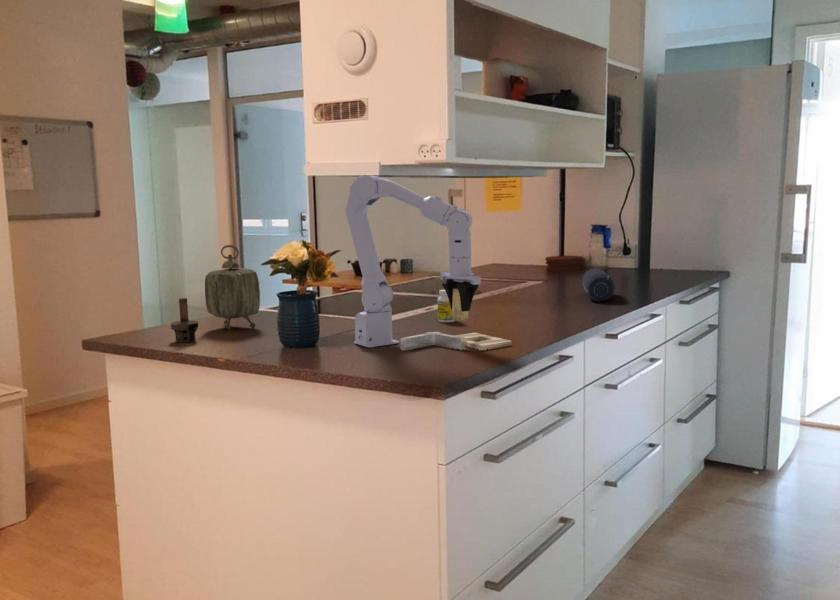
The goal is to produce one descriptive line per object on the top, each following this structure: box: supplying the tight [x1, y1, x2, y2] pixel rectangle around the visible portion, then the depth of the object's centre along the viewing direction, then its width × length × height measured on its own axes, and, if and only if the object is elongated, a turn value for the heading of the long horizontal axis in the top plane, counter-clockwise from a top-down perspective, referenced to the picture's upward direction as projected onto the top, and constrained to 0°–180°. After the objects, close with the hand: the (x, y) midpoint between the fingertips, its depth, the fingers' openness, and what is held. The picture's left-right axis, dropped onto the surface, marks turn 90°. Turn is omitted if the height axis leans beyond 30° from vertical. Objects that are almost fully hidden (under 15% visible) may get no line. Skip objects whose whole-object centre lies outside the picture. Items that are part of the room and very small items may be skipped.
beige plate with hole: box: [455, 332, 513, 351], centre depth 203 cm, size 15×10×1 cm, turn 34°
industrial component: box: [170, 297, 199, 343], centre depth 214 cm, size 9×7×12 cm
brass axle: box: [452, 288, 469, 322], centre depth 200 cm, size 4×4×8 cm
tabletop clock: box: [204, 244, 261, 331], centre depth 231 cm, size 14×9×25 cm, turn 59°
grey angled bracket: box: [399, 331, 466, 352], centre depth 200 cm, size 9×16×3 cm, turn 87°
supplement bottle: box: [437, 289, 456, 323], centre depth 237 cm, size 5×5×10 cm
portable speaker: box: [581, 267, 616, 303], centre depth 280 cm, size 25×10×10 cm, turn 172°
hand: (460, 310), depth 200 cm, fingers closed on brass axle, 4 cm apart
